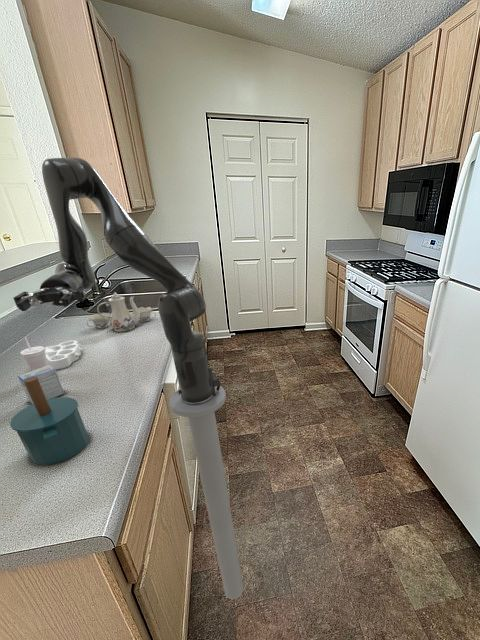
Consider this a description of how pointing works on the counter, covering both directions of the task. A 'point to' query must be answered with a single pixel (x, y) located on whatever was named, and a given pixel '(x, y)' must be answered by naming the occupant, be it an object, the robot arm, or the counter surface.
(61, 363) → the white holed tray
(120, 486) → the counter surface
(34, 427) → the lid
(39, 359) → the smoothie
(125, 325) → the chinaware
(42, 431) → the cooking pot
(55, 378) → the medicine box
